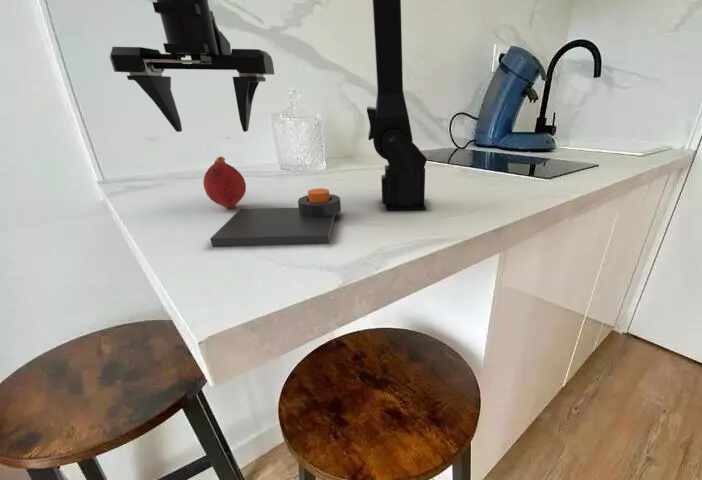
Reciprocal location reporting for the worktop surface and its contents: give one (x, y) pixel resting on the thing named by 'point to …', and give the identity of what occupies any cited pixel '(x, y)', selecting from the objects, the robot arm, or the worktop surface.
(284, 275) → the worktop surface
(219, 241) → the scale
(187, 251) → the worktop surface
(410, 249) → the worktop surface
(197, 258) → the worktop surface
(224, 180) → the onion
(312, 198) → the button
